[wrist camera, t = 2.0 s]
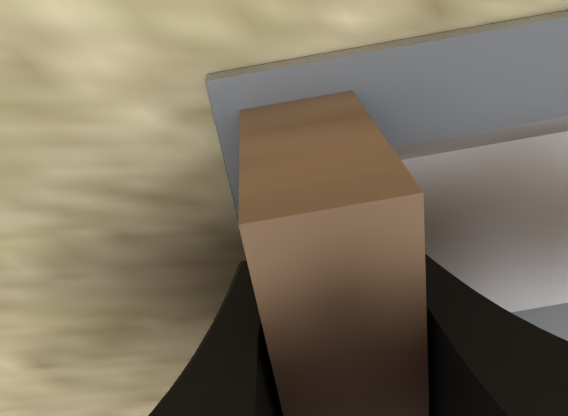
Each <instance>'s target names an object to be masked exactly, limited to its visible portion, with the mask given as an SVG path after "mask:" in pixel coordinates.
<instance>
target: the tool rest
mask: <svg viewBox="0 0 568 416" xmlns="http://www.w3.org/2000/svg"><path fill="white" fill-rule="evenodd" d="M206 86H207V90H208V94H209V98H210V103H211V107H212V111H213V115H214V120H215V124H216V128H217V132H218V137H219V141H220V145H221V149H222V154H223V158H224V162H225V166H226V171H227V175H228V179H229V183H230V188H231V192H232V196H233V200H234V205H235V209H236V213H237V218H238V212H239V146H240V110H242V109H248V108H254V107H259V106H265V105H271V104H276V103H282V102H288V101H293V100H299V99H305V98H310V97H316V96H322V95H327V94H333V93H339V92H344V91H350V90H352V91H353V92H354V94H355V95H356V97H357V98H358V99H359V101H360V102H361V104H362V105H363V107H364V108H365V109H366V111H367V112H368V114H369V115H370V117H371V118H372V119H373V121H374V122H375V124H376V125H377V127H378V128H379V129H380V131H381V132H382V134H383V135H384V137H385V138H386V140H387V141H388V142H389V144H390V145H391V147H393V146H399V145H404V144H410V143H416V142H421V141H427V140H433V139H439V138H444V137H450V136H456V135H461V134H467V133H473V132H479V131H484V130H490V129H496V128H501V127H507V126H513V125H519V124H524V123H530V122H536V121H542V120H547V119H553V118H559V117H564V116H568V10H567V11H561V12H555V13H550V14H544V15H538V16H533V17H527V18H522V19H516V20H510V21H505V22H499V23H493V24H488V25H482V26H476V27H471V28H465V29H460V30H454V31H448V32H443V33H437V34H431V35H426V36H420V37H414V38H409V39H403V40H398V41H392V42H386V43H381V44H375V45H369V46H364V47H358V48H352V49H347V50H341V51H336V52H330V53H324V54H319V55H313V56H307V57H302V58H296V59H290V60H285V61H279V62H274V63H268V64H262V65H257V66H251V67H245V68H240V69H234V70H228V71H223V72H217V73H212V74H207V77H206ZM511 313H513V314H515V315H516V316H518V317H520V318H522V319H524V320H526V321H528V322H530V323H531V324H533V325H535V326H537V327H539V328H541V329H543V330H545V331H547V332H549V333H551V334H553V335H555V336H558V337H560V338H562V339H564V340H566V339H568V303H563V304H557V305H551V306H545V307H539V308H534V309H528V310H522V311H516V312H511Z"/></svg>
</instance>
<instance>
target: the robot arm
mask: <svg viewBox="0 0 568 416" xmlns="http://www.w3.org/2000/svg"><path fill="white" fill-rule="evenodd" d="M425 268H426V307H427V347H428V386H429V416H568V341H567V340H564V339H562V338H560V337H558V336H555V335H553V334H551V333H549V332H547V331H545V330H543V329H541V328H539V327H537V326H535V325H533V324H531V323H530V322H528V321H526V320H524V319H522V318H520V317H518V316H516V315H515V314H513V313H511V312H509V311H507V310H506V309H504V308H502V307H500V306H499V305H497V304H495V303H494V302H492V301H491V300H489V299H488V298H486V297H484V296H483V295H481V294H480V293H478V292H477V291H475V290H474V289H472V288H471V287H469V286H468V285H466V284H465V283H464V282H462V281H461V280H459V279H458V278H457V277H455V276H454V275H453V274H451V273H450V272H449V271H447V270H446V269H445V268H443V267H442V266H441V265H439V264H438V263H437V262H435V261H434V260H433V259H432V258H430V257H429V256H428V255H427V254H425ZM148 416H283V412H282V408H281V404H280V399H279V395H278V391H277V387H276V382H275V378H274V374H273V370H272V365H271V361H270V357H269V353H268V348H267V344H266V340H265V336H264V332H263V327H262V323H261V319H260V315H259V310H258V306H257V302H256V298H255V293H254V289H253V285H252V281H251V276H250V272H249V268H248V264H247V261H241V263H240V264H239V265H238V267H237V270H236V273H235V275H234V278H233V280H232V283H231V285H230V288H229V290H228V292H227V294H226V297H225V299H224V301H223V303H222V305H221V307H220V309H219V311H218V313H217V315H216V317H215V319H214V321H213V323H212V325H211V326H210V328H209V330H208V332H207V333H206V335H205V337H204V339H203V340H202V342H201V344H200V345H199V347H198V349H197V350H196V352H195V354H194V355H193V357H192V358H191V360H190V361H189V363H188V364H187V366H186V367H185V369H184V370H183V372H182V373H181V375H180V376H179V377H178V379H177V380H176V381H175V383H174V384H173V386H172V387H171V388H170V390H169V391H168V392H167V393H166V395H165V396H164V397H163V398H162V400H161V401H160V402H159V403H158V405H157V406H156V407H155V408H154V410H153V411H152V412H151V413H150V414H149V415H148Z"/></svg>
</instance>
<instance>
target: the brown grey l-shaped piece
mask: <svg viewBox="0 0 568 416" xmlns="http://www.w3.org/2000/svg"><path fill="white" fill-rule="evenodd" d="M238 226H239V230H240V234H241V238H242V243H243V247H244V251H245V255H246V260H247V264H248V268H249V272H250V276H251V281H252V285H253V289H254V293H255V298H256V302H257V306H258V310H259V315H260V319H261V323H262V327H263V332H264V336H265V340H266V344H267V348H268V353H269V357H270V361H271V365H272V370H273V374H274V378H275V382H276V387H277V391H278V395H279V399H280V404H281V408H282V412H283V416H429V386H428V347H427V307H426V268H425V254H427V255H428V256H429V257H430V258H432V259H433V260H434V261H435V262H437V263H438V264H439V265H441V266H442V267H443V268H445V269H446V270H447V271H449V272H450V273H451V274H453V275H454V276H455V277H457V278H458V279H459V280H461V281H462V282H464V283H465V284H466V285H468V286H469V287H471V288H472V289H474V290H475V291H477V292H478V293H480V294H481V295H483V296H484V297H486V298H488V299H489V300H491V301H492V302H494V303H495V304H497V305H499V306H500V307H502V308H504V309H506V310H507V311H509V312H516V311H522V310H528V309H534V308H539V307H545V306H551V305H557V304H563V303H568V116H564V117H559V118H553V119H547V120H542V121H536V122H530V123H524V124H519V125H513V126H507V127H501V128H496V129H490V130H484V131H479V132H473V133H467V134H461V135H456V136H450V137H444V138H439V139H433V140H427V141H421V142H416V143H410V144H404V145H399V146H393V147H391V145H390V144H389V142H388V141H387V140H386V138H385V137H384V135H383V134H382V132H381V131H380V129H379V128H378V127H377V125H376V124H375V122H374V121H373V119H372V118H371V117H370V115H369V114H368V112H367V111H366V109H365V108H364V107H363V105H362V104H361V102H360V101H359V99H358V98H357V97H356V95H355V94H354V92H353V91H352V90H350V91H344V92H339V93H333V94H327V95H322V96H316V97H310V98H305V99H299V100H293V101H288V102H282V103H276V104H271V105H265V106H259V107H254V108H248V109H242V110H240V146H239V212H238Z"/></svg>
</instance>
